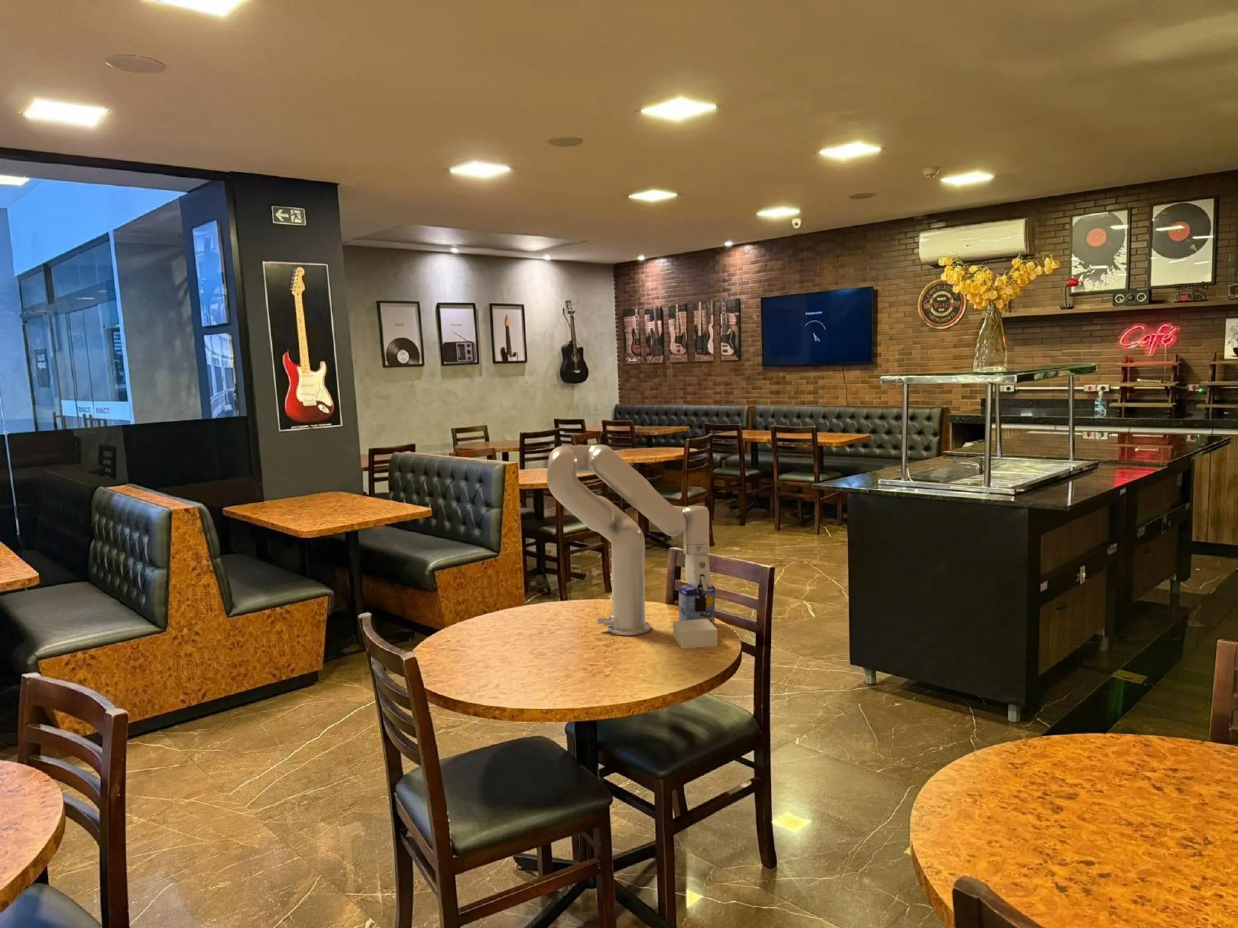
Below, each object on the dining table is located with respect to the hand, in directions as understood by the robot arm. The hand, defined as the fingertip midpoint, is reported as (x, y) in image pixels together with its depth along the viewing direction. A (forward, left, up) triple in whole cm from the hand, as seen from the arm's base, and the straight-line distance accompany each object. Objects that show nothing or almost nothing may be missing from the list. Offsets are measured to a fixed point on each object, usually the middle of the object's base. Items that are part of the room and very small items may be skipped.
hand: (696, 607), depth 250 cm
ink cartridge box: (0, 0, -6) cm, 6 cm away
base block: (-5, -13, -6) cm, 15 cm away
